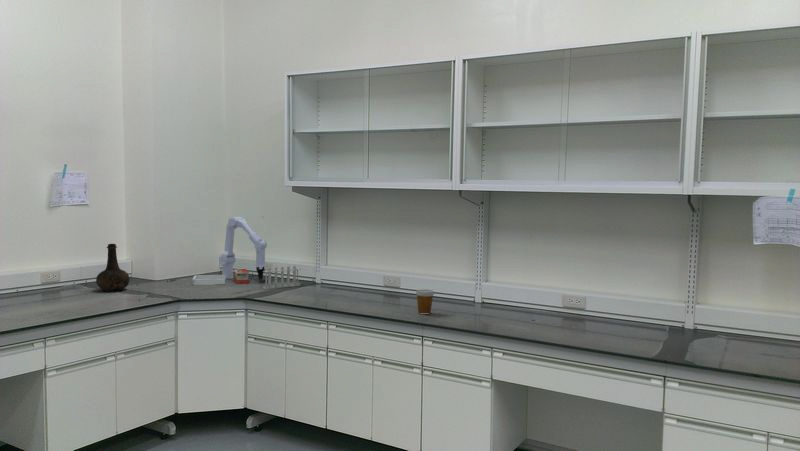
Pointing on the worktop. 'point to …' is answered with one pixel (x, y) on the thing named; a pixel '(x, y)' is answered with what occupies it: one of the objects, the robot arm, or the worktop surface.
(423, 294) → the disposable coffee cup
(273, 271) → the test tube rack
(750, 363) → the worktop surface
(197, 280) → the bin
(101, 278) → the glass bottle
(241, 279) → the medicine box
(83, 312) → the worktop surface
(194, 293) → the worktop surface
